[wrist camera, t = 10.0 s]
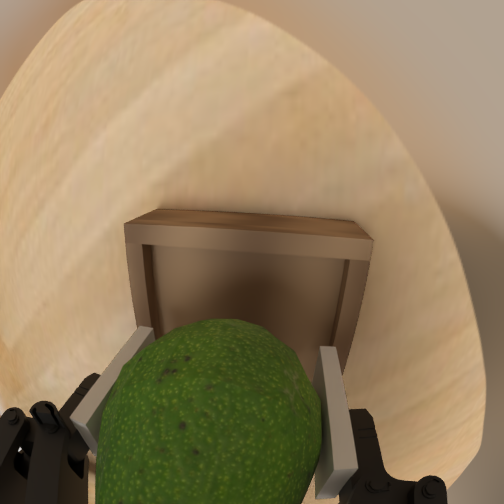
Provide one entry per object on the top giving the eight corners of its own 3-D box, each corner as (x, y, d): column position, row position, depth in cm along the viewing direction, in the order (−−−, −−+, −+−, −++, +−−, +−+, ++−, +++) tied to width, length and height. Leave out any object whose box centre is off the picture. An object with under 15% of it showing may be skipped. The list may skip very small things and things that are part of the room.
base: (170, 361, 21) (152, 395, 17) (156, 209, 17) (124, 223, 13) (323, 377, 20) (328, 416, 16) (353, 221, 16) (373, 240, 12)
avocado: (257, 248, 12) (145, 610, 1) (339, 370, 13) (365, 595, 2) (132, 323, 14) (-1, 500, 3) (219, 415, 16) (172, 585, 4)
